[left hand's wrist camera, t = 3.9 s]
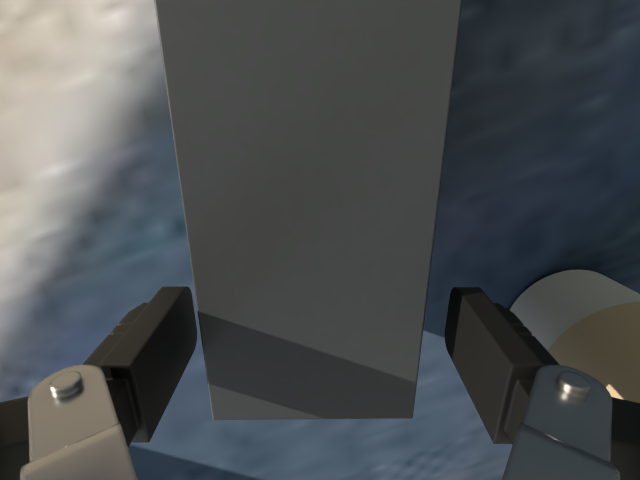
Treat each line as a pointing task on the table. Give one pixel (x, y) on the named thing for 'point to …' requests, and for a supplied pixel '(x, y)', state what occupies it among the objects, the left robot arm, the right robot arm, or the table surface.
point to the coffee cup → (587, 326)
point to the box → (310, 194)
